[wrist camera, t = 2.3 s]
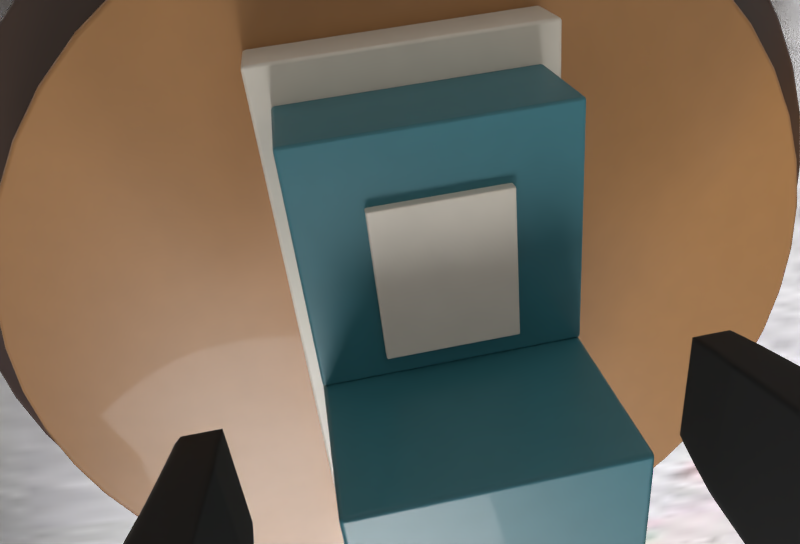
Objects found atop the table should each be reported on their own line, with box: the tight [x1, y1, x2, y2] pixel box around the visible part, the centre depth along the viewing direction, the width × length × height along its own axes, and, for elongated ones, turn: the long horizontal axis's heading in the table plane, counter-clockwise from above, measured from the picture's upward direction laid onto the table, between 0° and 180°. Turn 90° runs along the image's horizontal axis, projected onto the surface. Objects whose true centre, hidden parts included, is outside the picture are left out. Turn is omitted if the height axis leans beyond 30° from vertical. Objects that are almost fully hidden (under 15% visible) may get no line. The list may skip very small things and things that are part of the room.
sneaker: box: [0, 0, 797, 544], centre depth 12 cm, size 15×15×6 cm
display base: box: [0, 0, 800, 447], centre depth 15 cm, size 17×17×2 cm
